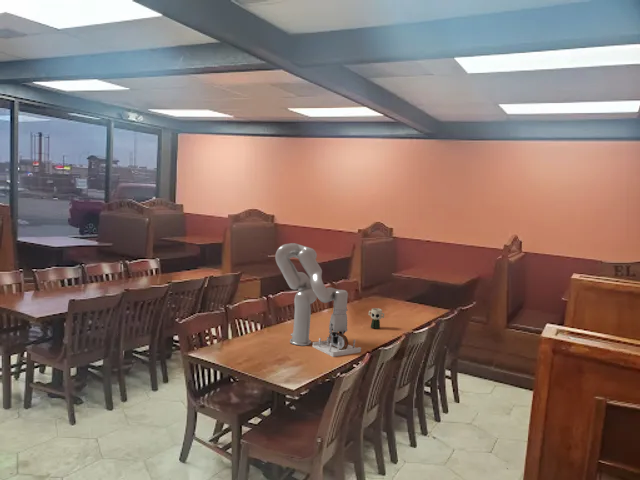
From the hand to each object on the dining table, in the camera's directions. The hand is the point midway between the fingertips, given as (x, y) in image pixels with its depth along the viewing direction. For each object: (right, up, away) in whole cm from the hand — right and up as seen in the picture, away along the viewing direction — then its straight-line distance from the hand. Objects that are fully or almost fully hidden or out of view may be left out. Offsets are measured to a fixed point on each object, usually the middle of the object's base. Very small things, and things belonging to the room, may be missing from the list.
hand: (337, 342), depth 296 cm
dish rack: (0, -4, +1) cm, 4 cm away
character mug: (+28, -1, +54) cm, 61 cm away
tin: (0, -3, 0) cm, 3 cm away
